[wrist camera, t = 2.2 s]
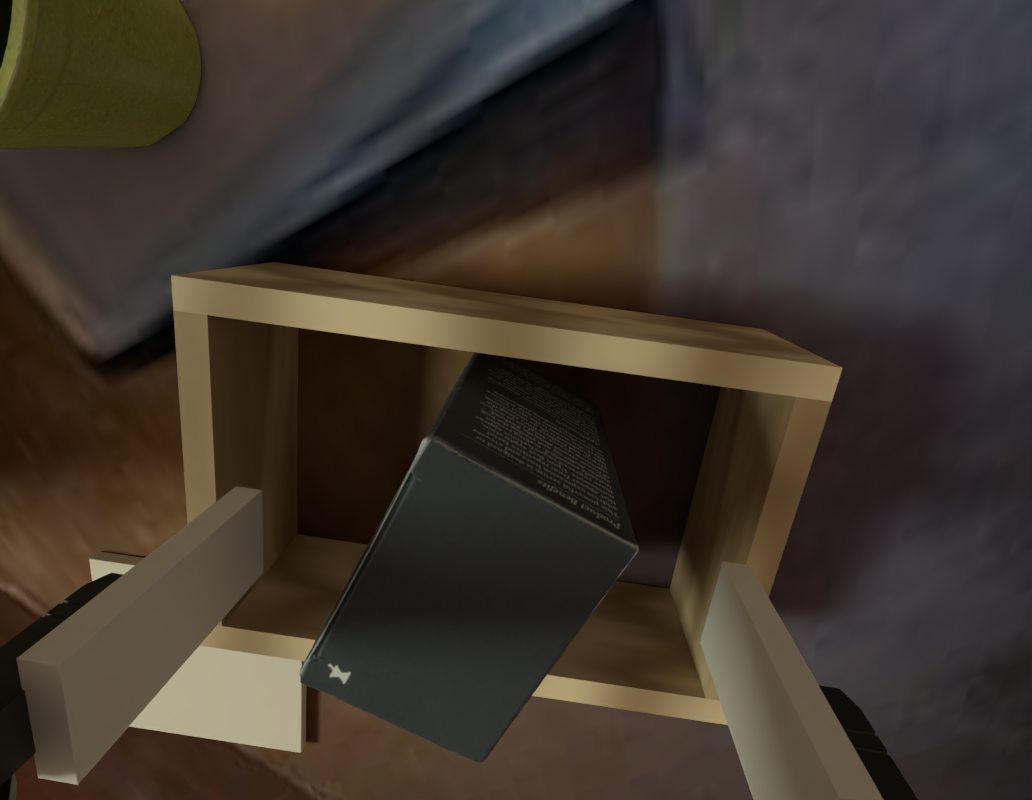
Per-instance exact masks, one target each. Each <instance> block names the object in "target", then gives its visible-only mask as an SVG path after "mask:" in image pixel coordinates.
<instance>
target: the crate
mask: <svg viewBox="0 0 1032 800" xmlns="http://www.w3.org/2000/svg"><path fill="white" fill-rule="evenodd" d="M171 283H172V298H173V313H174V328H175V343H176V358H177V373H178V388H179V403H180V418H181V433H182V448H183V463H184V478H185V493H186V508H187V523H188V524H189V523H190V522H191V521H192V520H194V519H195V518H196V517H198V516H199V515H200V514H201V513H203V512H204V511H205V510H206V509H208V508H209V507H210V506H212V505H213V504H214V503H215V502H217V501H218V500H219V499H220V498H222V497H223V496H224V495H226V494H227V493H228V492H229V491H231V490H232V489H233V488H235V487H236V486H238V487H245V488H251V489H258V490H262V511H263V573H262V574H261V576H260V577H259V578H258V579H257V580H256V581H255V582H254V584H253V585H252V586H251V587H250V588H249V589H248V590H247V592H246V593H245V594H244V595H243V596H242V597H241V598H240V600H239V601H238V602H237V603H236V604H235V605H234V606H233V608H232V609H231V610H230V611H229V612H228V613H227V614H226V616H225V617H224V618H223V619H222V620H221V621H220V623H219V624H218V625H217V626H216V627H215V628H214V629H213V631H212V632H211V633H210V634H209V635H208V636H207V637H206V639H205V640H204V641H203V642H202V643H201V644H200V645H199V646H206V647H213V648H219V649H226V650H233V651H239V652H246V653H252V654H259V655H266V656H272V657H279V658H286V659H292V660H299V661H305V659H306V658H307V656H308V654H309V652H310V650H311V649H312V647H313V645H314V643H315V641H316V639H317V637H318V635H319V633H320V631H321V630H322V628H323V626H324V624H325V622H326V621H327V619H328V617H329V615H330V613H331V612H332V610H333V608H334V606H335V604H336V602H337V600H338V599H339V597H340V595H341V593H342V591H343V590H344V588H345V586H346V584H347V582H348V581H349V579H350V577H351V575H352V573H353V571H354V569H355V568H356V566H357V564H358V562H359V560H360V558H361V557H362V555H363V553H364V551H365V549H366V547H367V544H360V543H353V542H346V541H339V540H333V539H326V538H319V537H312V536H305V535H298V534H297V524H298V328H304V329H311V330H318V331H325V332H333V333H340V334H347V335H354V336H361V337H369V338H376V339H383V340H390V341H397V342H405V343H412V344H419V345H426V346H433V347H440V348H448V349H455V350H462V351H469V352H476V353H484V354H491V355H498V356H505V357H512V358H520V359H527V360H534V361H541V362H548V363H556V364H563V365H570V366H577V367H584V368H592V369H599V370H606V371H613V372H620V373H628V374H635V375H642V376H649V377H656V378H664V379H671V380H678V381H685V382H692V383H700V384H707V385H714V386H721V389H720V393H719V396H718V400H717V404H716V408H715V412H714V416H713V420H712V424H711V428H710V432H709V436H708V440H707V444H706V448H705V451H704V455H703V459H702V463H701V467H700V471H699V475H698V479H697V483H696V487H695V491H694V495H693V499H692V503H691V506H690V510H689V514H688V518H687V522H686V526H685V530H684V534H683V538H682V542H681V546H680V550H679V554H678V558H677V561H676V565H675V569H674V573H673V577H672V581H671V585H670V589H668V588H661V587H654V586H647V585H640V584H634V583H627V582H620V581H616V582H615V583H614V584H613V586H612V587H611V588H610V590H609V591H608V593H607V594H606V596H605V597H604V598H603V600H602V601H601V602H600V604H599V605H598V606H597V608H596V609H595V610H594V612H593V613H592V615H591V616H590V617H589V618H588V620H587V621H586V623H585V624H584V625H583V627H582V628H581V629H580V631H579V632H578V633H577V635H576V636H575V637H574V639H573V640H572V641H571V643H570V644H569V646H568V647H567V648H566V650H565V651H564V653H563V654H562V655H561V657H560V658H559V659H558V661H557V662H556V663H555V665H554V666H553V668H552V669H551V670H550V671H549V673H548V674H547V675H546V677H545V678H544V679H543V681H542V682H541V684H540V685H539V687H538V688H537V689H536V691H535V692H534V693H533V695H532V696H538V697H545V698H551V699H558V700H565V701H571V702H578V703H585V704H591V705H598V706H605V707H611V708H618V709H625V710H631V711H638V712H644V713H651V714H658V715H664V716H671V717H678V718H684V719H691V720H698V721H704V722H711V723H718V724H724V725H728V723H727V720H726V717H725V714H724V712H723V709H722V706H721V703H720V700H719V697H718V694H717V691H716V688H715V685H714V682H713V679H712V676H711V673H710V670H709V667H708V665H707V662H706V659H705V656H704V653H703V650H702V647H701V644H700V640H701V636H702V633H703V629H704V626H705V622H706V619H707V615H708V612H709V608H710V604H711V601H712V597H713V594H714V590H715V587H716V583H717V580H718V576H719V572H720V569H721V565H722V562H730V563H736V564H743V565H749V566H751V568H752V569H753V571H754V573H755V575H756V576H757V578H758V580H759V582H760V584H761V585H762V587H763V589H764V591H765V592H766V594H767V596H768V598H769V595H770V591H771V588H772V585H773V582H774V579H775V576H776V573H777V570H778V567H779V564H780V561H781V557H782V554H783V551H784V548H785V545H786V542H787V539H788V536H789V533H790V530H791V526H792V523H793V520H794V517H795V514H796V511H797V508H798V505H799V502H800V499H801V496H802V492H803V489H804V486H805V483H806V480H807V477H808V474H809V471H810V468H811V465H812V461H813V458H814V455H815V452H816V449H817V446H818V443H819V440H820V437H821V434H822V431H823V427H824V424H825V421H826V418H827V415H828V412H829V409H830V406H831V403H832V400H833V396H834V393H835V390H836V387H837V384H838V381H839V378H840V375H841V372H842V369H843V368H842V367H840V366H838V365H836V364H834V363H832V362H830V361H828V360H826V359H823V358H821V357H819V356H817V355H815V354H813V353H811V352H809V351H807V350H805V349H803V348H801V347H799V346H797V345H795V344H793V343H790V342H788V341H786V340H784V339H782V338H780V337H778V336H776V335H774V334H772V333H770V332H768V331H766V330H764V329H759V328H751V327H744V326H737V325H729V324H722V323H715V322H707V321H700V320H693V319H686V318H678V317H671V316H664V315H656V314H649V313H642V312H634V311H627V310H620V309H612V308H605V307H598V306H591V305H583V304H576V303H569V302H561V301H554V300H547V299H539V298H532V297H525V296H517V295H510V294H503V293H496V292H488V291H481V290H474V289H466V288H459V287H452V286H444V285H437V284H430V283H422V282H415V281H408V280H400V279H393V278H386V277H379V276H371V275H364V274H357V273H349V272H342V271H335V270H327V269H320V268H313V267H305V266H298V265H291V264H284V263H276V262H270V263H262V264H255V265H247V266H239V267H231V268H224V269H216V270H208V271H200V272H193V273H185V274H177V275H171Z"/></svg>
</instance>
